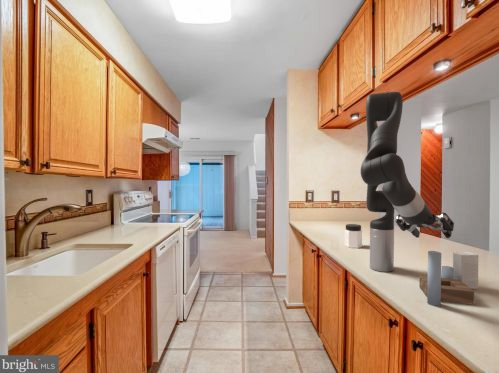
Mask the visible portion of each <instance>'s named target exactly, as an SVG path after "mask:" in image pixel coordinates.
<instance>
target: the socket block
mask: <svg viewBox="0 0 499 373" xmlns="http://www.w3.org/2000/svg"><path fill="white" fill-rule="evenodd" d="M418 283H419V284H418V285H419V288H420V290H421V292H422V293H423V294H424V295H425V296H426V297H427V289H428V276H422V275H419V282H418ZM448 301H450V302H449V303H457V302H458V303H460V304H469V305H474V304H475V290H473V289H471V288H469V287H468V286H467V285H466V284H465V283H463V282H462V281H461V280H459V279H447V278H442V277H441V302H448Z"/></svg>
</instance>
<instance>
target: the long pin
mask: <svg viewBox="0 0 499 373" xmlns="http://www.w3.org/2000/svg"><path fill="white" fill-rule="evenodd" d="M427 277H428V289H427V296H426V297H427V300H426V301H427V302H426V303H427V304H428V305H430V306H432V307H441V304H442V301H441V278H442V252H440V251H436V250H428V252H427Z"/></svg>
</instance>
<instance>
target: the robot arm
mask: <svg viewBox="0 0 499 373" xmlns="http://www.w3.org/2000/svg"><path fill="white" fill-rule="evenodd" d="M403 102H404V100H403V96H402V94H401V92H400V91H389V92H378V93H371V94H369V95H368V96H367V98H366V100H365V120H366V132H367V145H366V146H367V147H366V155H365V157H364V158H363V160H362V163H361V167H360V177H361V179H362V181H363V182H364V184H366V185H367V189H366V207H367V210H368V212H371V213H385V215H384V216H382V217H379V218H376V219H373V220H371V221H370V222H369V268H370V269H372V270H374V271H377V272H385V273H387V272H388V273H389V272H393V271H394V268H395V267H394V266H395V265H394V264H395V263H394V262H395V223H396V225H397V226H398V227H399V228H400V230H401V231H403V232H405V231H407V232H409V233H411V235H412V236H414V237H415V238H420V234H421V232H420V230H419V229H418V228H430V229H431V230H434V231H440V232H441V233H442V234H443V235H444V237H445V238H446V239H451V237H452V233H453V231H454V229H455V228H454V226H455V222H454V221H453V220H452V219H451V218H450V217H449V215H448V214H447V213H446V212H441V214H440V215H439V214H438V215H436V214H435V213H433V212H432V211H431V208H430V207H429V206H428V204H427V202H425V200H424V199H423V198H422V196H421V194H420V193H419V192H417V190H416V189H415V188H414V187H413V186H412V184H411V182H409V179H408V177H407V173H406V169H405V163H404V161H403V158H402V157H401V156H400V155H399V154H397V153H398V133H399V129H400V125H401V120H402V114H403V105H404V104H403ZM377 122H382V123H381V124H379V125H378V123H377ZM379 185H382V187H381V188H382V189H381V190H378V187H379ZM395 211H396V213H397V214H396V217H395Z"/></svg>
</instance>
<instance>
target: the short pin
mask: <svg viewBox="0 0 499 373" xmlns="http://www.w3.org/2000/svg"><path fill="white" fill-rule="evenodd" d="M441 278H447V279H454V268H453V266H449V265H443V266H442V265H441Z"/></svg>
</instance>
